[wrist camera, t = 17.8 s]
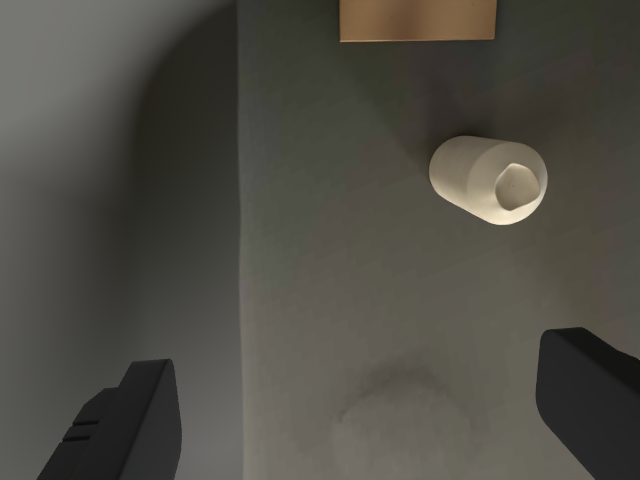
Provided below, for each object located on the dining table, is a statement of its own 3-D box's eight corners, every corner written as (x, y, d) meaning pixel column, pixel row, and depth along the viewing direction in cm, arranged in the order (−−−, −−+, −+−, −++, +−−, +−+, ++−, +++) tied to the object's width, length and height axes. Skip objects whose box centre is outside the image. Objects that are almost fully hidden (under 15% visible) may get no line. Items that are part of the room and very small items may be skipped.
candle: (503, 150, 40) (575, 164, 30) (473, 211, 41) (533, 242, 32) (446, 124, 39) (501, 129, 29) (416, 186, 40) (461, 211, 31)
